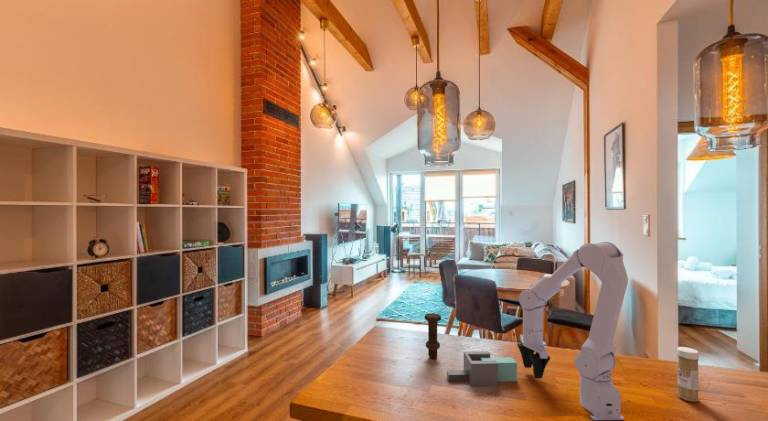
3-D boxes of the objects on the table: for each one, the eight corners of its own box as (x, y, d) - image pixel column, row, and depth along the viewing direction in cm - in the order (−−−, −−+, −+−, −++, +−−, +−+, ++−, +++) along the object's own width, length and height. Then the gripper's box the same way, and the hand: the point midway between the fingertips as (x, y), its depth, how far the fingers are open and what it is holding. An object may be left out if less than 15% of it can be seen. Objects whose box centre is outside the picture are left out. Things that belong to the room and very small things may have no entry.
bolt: (441, 355, 126) (441, 313, 126) (441, 361, 121) (440, 317, 121) (425, 354, 127) (424, 312, 127) (424, 360, 122) (424, 316, 122)
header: (498, 385, 104) (498, 363, 104) (451, 386, 104) (451, 364, 104) (488, 371, 113) (488, 351, 113) (445, 372, 113) (445, 351, 113)
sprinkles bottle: (673, 394, 99) (672, 346, 99) (687, 393, 100) (687, 345, 100) (688, 403, 95) (688, 353, 95) (703, 402, 95) (703, 352, 95)
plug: (516, 381, 107) (516, 362, 107) (484, 381, 107) (484, 362, 107) (512, 375, 111) (511, 357, 111) (480, 375, 111) (480, 357, 111)
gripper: (557, 336, 102) (558, 383, 102) (534, 321, 117) (534, 362, 117) (534, 336, 102) (534, 383, 102) (513, 321, 116) (513, 362, 116)
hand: (532, 372), depth 109 cm, fingers open, 6 cm apart
